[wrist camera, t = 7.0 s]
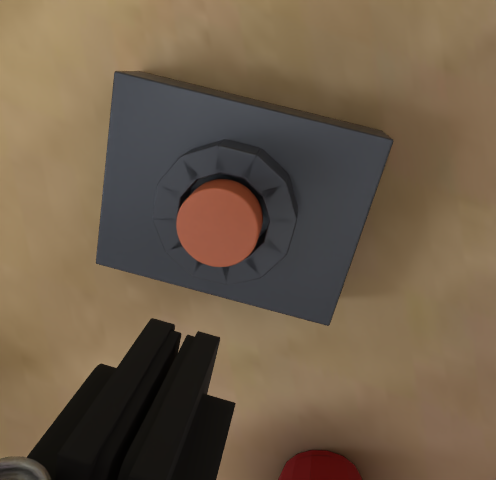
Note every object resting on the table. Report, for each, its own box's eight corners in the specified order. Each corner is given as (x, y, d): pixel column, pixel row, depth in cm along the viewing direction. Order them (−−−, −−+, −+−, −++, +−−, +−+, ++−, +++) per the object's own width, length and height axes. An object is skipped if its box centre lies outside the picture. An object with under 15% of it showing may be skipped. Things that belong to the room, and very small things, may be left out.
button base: (383, 131, 22) (402, 146, 18) (327, 297, 26) (330, 346, 21) (139, 70, 23) (95, 70, 18) (119, 242, 27) (78, 278, 22)
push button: (271, 189, 19) (267, 200, 18) (253, 261, 21) (248, 276, 19) (193, 169, 20) (182, 178, 18) (180, 241, 21) (169, 256, 19)
